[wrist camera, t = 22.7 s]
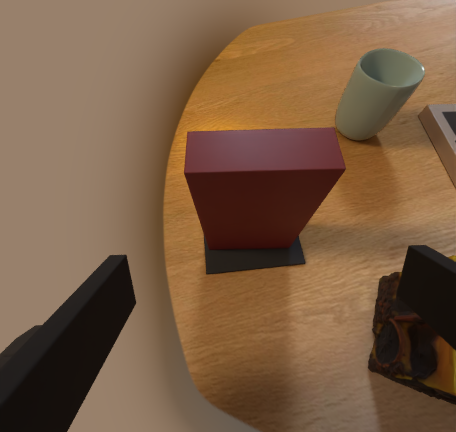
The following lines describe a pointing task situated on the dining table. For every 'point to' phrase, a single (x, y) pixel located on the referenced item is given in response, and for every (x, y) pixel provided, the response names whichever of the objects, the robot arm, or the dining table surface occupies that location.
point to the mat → (252, 258)
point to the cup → (377, 92)
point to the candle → (410, 346)
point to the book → (260, 183)
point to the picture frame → (442, 133)
